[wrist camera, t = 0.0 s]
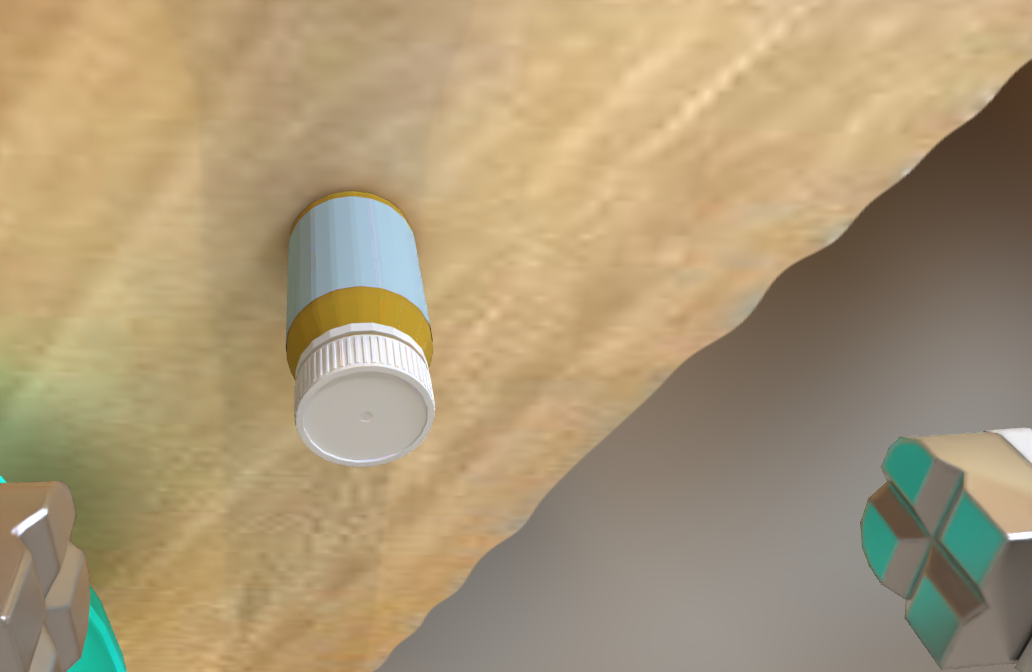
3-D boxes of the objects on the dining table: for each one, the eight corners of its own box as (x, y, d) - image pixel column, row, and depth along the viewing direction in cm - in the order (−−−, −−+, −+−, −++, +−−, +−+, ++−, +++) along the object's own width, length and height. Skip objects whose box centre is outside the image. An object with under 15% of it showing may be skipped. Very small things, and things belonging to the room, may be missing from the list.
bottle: (402, 295, 54) (429, 476, 43) (283, 284, 52) (278, 471, 41) (423, 193, 50) (458, 363, 39) (295, 177, 48) (292, 351, 37)
